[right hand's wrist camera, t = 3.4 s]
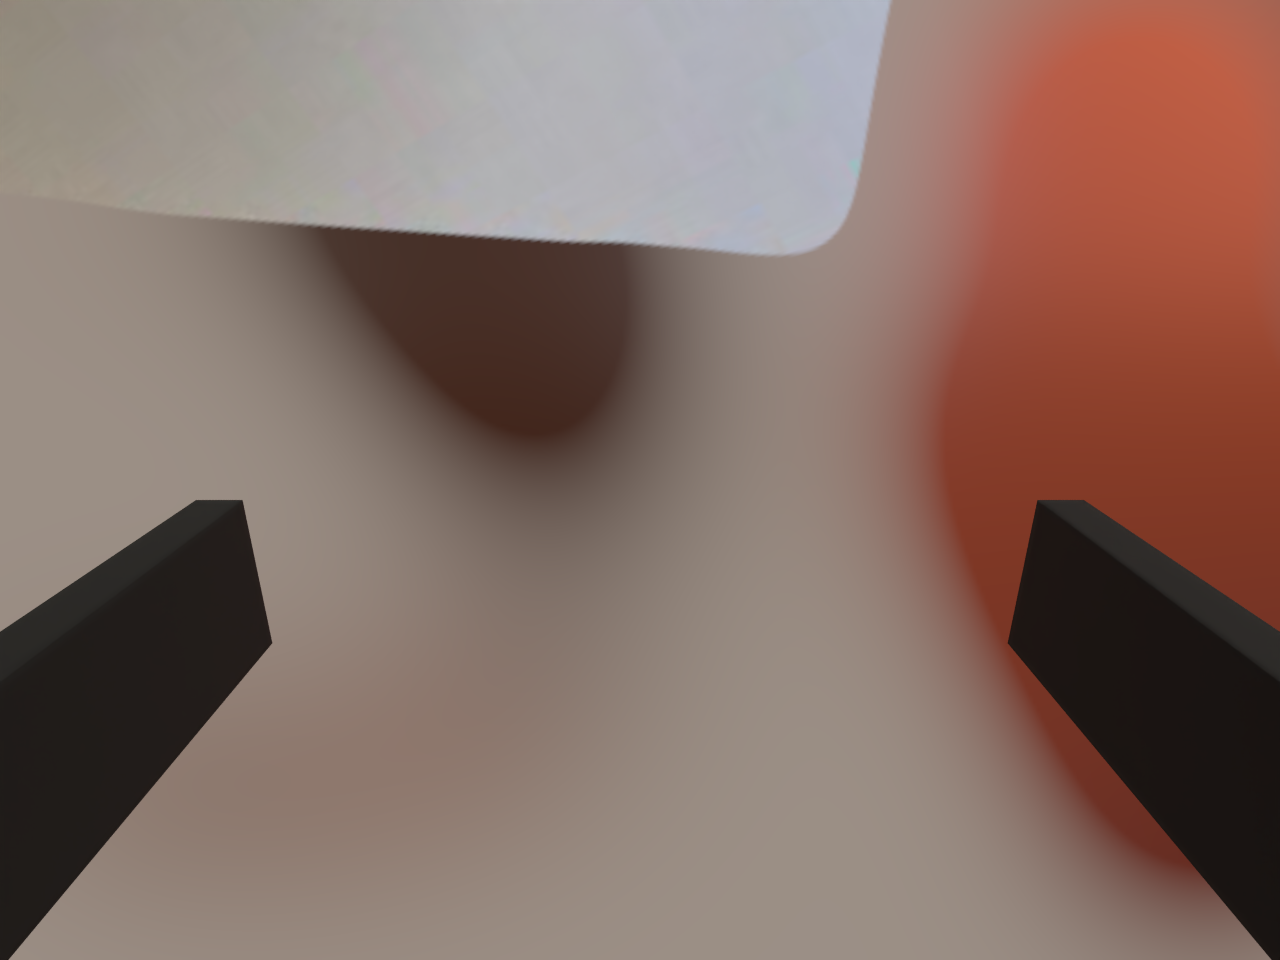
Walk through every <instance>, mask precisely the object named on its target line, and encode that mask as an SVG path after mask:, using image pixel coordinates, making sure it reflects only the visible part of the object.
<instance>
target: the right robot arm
mask: <svg viewBox="0 0 1280 960" xmlns="http://www.w3.org/2000/svg"><path fill="white" fill-rule="evenodd" d="M271 644H272V640H271V635H270V630H269V625H268V620H267V616H266V611H265V606H264V601H263V596H262V592H261V587H260V582H259V577H258V572H257V568H256V563H255V558H254V553H253V548H252V544H251V539H250V534H249V529H248V525H247V520H246V515H245V510H244V505H243V501H242V500H196V501H194V502H193V503H191V504H190V505H188V506H187V507H185V508H184V509H182V510H181V511H179V512H178V513H176V514H175V515H173V516H172V517H170V518H169V519H167V520H166V521H164V522H163V523H162V524H160V525H158V526H157V527H155V528H154V529H152V530H151V531H149V532H148V533H147V534H145V535H144V536H142V537H141V538H139V539H138V540H136V541H135V542H133V543H132V544H130V545H129V546H127V547H126V548H124V549H123V550H121V551H120V552H118V553H117V554H115V555H114V556H112V557H111V558H109V559H108V560H106V561H105V562H103V563H102V564H100V565H99V566H97V567H96V568H94V569H93V570H91V571H90V572H88V573H87V574H86V575H84V576H83V577H81V578H80V579H78V580H77V581H75V582H74V583H72V584H71V585H69V586H68V587H66V588H65V589H63V590H62V591H60V592H59V593H57V594H56V595H54V596H53V597H51V598H50V599H48V600H47V601H45V602H44V603H42V604H41V605H39V606H38V607H36V608H35V609H33V610H32V611H31V612H29V613H27V614H26V615H25V616H23V617H22V618H20V619H19V620H17V621H16V622H14V623H13V624H11V625H10V626H8V627H7V628H5V629H4V630H2V631H1V632H0V960H9V958H10V957H11V956H12V955H13V954H14V952H15V951H16V950H17V949H18V948H19V946H20V945H21V944H22V943H23V942H24V940H25V939H26V938H27V937H28V936H29V934H30V933H31V932H32V931H33V930H34V928H35V927H36V926H37V925H38V924H39V922H40V921H41V920H42V919H43V918H44V916H45V915H46V914H47V913H48V912H49V910H50V909H51V908H52V907H53V906H54V904H55V903H56V902H57V901H58V900H59V898H60V897H61V896H62V895H63V894H64V892H65V891H66V890H67V889H68V888H69V886H70V885H71V884H72V883H73V882H74V880H75V879H76V878H77V877H78V876H79V874H80V873H81V872H82V871H83V870H84V868H85V867H86V866H87V865H88V864H89V862H90V861H91V860H92V859H93V858H94V856H95V855H96V854H97V853H98V852H99V850H100V849H101V848H102V847H103V846H104V844H105V843H106V842H107V841H108V840H109V838H110V837H111V836H112V835H113V834H114V832H115V831H116V830H117V829H118V828H119V826H120V825H121V824H122V823H123V822H124V820H125V819H126V818H127V817H128V816H129V814H130V813H131V812H132V811H133V810H134V808H135V807H136V806H137V805H138V804H139V802H140V801H141V800H142V799H143V798H144V796H145V795H146V794H147V793H148V792H149V790H150V789H151V788H152V787H153V786H154V784H155V783H156V782H157V781H158V780H159V778H160V777H161V776H162V775H163V774H164V772H165V771H166V770H167V769H168V768H169V766H170V765H171V764H172V763H173V762H174V760H175V759H176V758H177V757H178V756H179V754H180V753H181V752H182V751H183V750H184V748H185V747H186V746H187V745H188V744H189V742H190V741H191V740H192V739H193V738H194V736H195V735H196V734H197V733H198V731H199V730H200V729H201V728H202V727H203V726H204V724H205V723H206V722H207V721H208V720H209V718H210V717H211V716H212V715H213V714H214V712H215V711H216V710H217V709H218V708H219V706H220V705H221V704H222V703H223V701H224V700H225V699H226V698H227V697H228V696H229V694H230V693H231V692H232V691H233V690H234V688H235V687H236V686H237V685H238V684H239V682H240V681H241V680H242V679H243V678H244V676H245V675H246V674H247V673H248V672H249V670H250V669H251V668H252V667H253V666H254V664H255V663H256V662H257V661H258V660H259V658H260V657H261V656H262V655H263V654H264V652H265V651H266V650H267V649H268V648H269V646H270V645H271ZM1008 644H1009V645H1010V646H1011V648H1012V649H1013V650H1014V651H1015V652H1016V654H1017V655H1018V656H1019V657H1020V658H1021V660H1022V661H1023V662H1024V663H1025V664H1026V666H1027V667H1028V668H1029V669H1030V670H1031V672H1032V673H1033V674H1034V675H1035V676H1036V678H1037V679H1038V680H1039V681H1040V682H1041V684H1042V685H1043V686H1044V687H1045V688H1046V690H1047V691H1048V692H1049V693H1050V694H1051V695H1052V697H1053V698H1054V699H1055V700H1056V702H1057V703H1058V704H1059V705H1060V706H1061V708H1062V709H1063V710H1064V711H1065V712H1066V714H1067V715H1068V716H1069V717H1070V718H1071V720H1072V721H1073V722H1074V723H1075V724H1076V726H1077V727H1078V728H1079V729H1080V730H1081V732H1082V733H1083V734H1084V735H1085V736H1086V738H1087V739H1088V740H1089V741H1090V742H1091V744H1092V745H1093V746H1094V747H1095V748H1096V750H1097V751H1098V752H1099V753H1100V754H1101V756H1102V757H1103V758H1104V759H1105V760H1106V762H1107V763H1108V764H1109V765H1110V766H1111V767H1112V769H1113V770H1114V771H1115V772H1116V774H1117V775H1118V776H1119V777H1120V778H1121V780H1122V781H1123V782H1124V783H1125V784H1126V786H1127V787H1128V788H1129V789H1130V790H1131V792H1132V793H1133V794H1134V795H1135V796H1136V798H1137V799H1138V800H1139V801H1140V802H1141V804H1142V805H1143V806H1144V807H1145V808H1146V810H1147V811H1148V812H1149V813H1150V814H1151V816H1152V817H1153V818H1154V819H1155V820H1156V822H1157V823H1158V824H1159V825H1160V826H1161V828H1162V829H1163V830H1164V831H1165V832H1166V833H1167V835H1168V836H1169V837H1170V838H1171V840H1172V841H1173V842H1174V843H1175V844H1176V846H1177V847H1178V848H1179V849H1180V850H1181V852H1182V853H1183V854H1184V855H1185V856H1186V858H1187V859H1188V860H1189V861H1190V862H1191V864H1192V865H1193V866H1194V867H1195V868H1196V870H1197V871H1198V872H1199V873H1200V874H1201V876H1202V877H1203V878H1204V879H1205V880H1206V882H1207V883H1208V884H1209V885H1210V886H1211V888H1212V889H1213V890H1214V891H1215V892H1216V894H1217V895H1218V896H1219V897H1220V898H1221V900H1222V901H1223V902H1224V903H1225V904H1226V906H1227V907H1228V908H1229V909H1230V910H1231V912H1232V913H1233V914H1234V915H1235V916H1236V918H1237V919H1238V920H1239V921H1240V922H1241V924H1242V925H1243V926H1244V927H1245V928H1246V930H1247V931H1248V932H1249V933H1250V934H1251V936H1252V937H1253V938H1254V939H1255V940H1256V942H1257V943H1258V944H1259V945H1260V946H1261V948H1262V949H1263V950H1264V951H1265V952H1266V954H1267V955H1268V956H1269V957H1270V958H1271V960H1280V632H1279V631H1278V630H1276V629H1275V628H1273V627H1272V626H1270V625H1269V624H1267V623H1266V622H1264V621H1263V620H1261V619H1260V618H1258V617H1257V616H1255V615H1254V614H1253V613H1251V612H1249V611H1248V610H1247V609H1245V608H1244V607H1242V606H1241V605H1239V604H1238V603H1236V602H1235V601H1233V600H1232V599H1230V598H1229V597H1227V596H1226V595H1224V594H1223V593H1221V592H1220V591H1218V590H1217V589H1215V588H1214V587H1212V586H1211V585H1209V584H1208V583H1206V582H1205V581H1203V580H1202V579H1200V578H1199V577H1197V576H1196V575H1194V574H1193V573H1192V572H1190V571H1188V570H1187V569H1186V568H1184V567H1183V566H1181V565H1180V564H1178V563H1177V562H1175V561H1174V560H1172V559H1171V558H1169V557H1168V556H1166V555H1165V554H1163V553H1162V552H1160V551H1159V550H1157V549H1156V548H1154V547H1153V546H1151V545H1150V544H1148V543H1147V542H1145V541H1144V540H1142V539H1141V538H1139V537H1138V536H1136V535H1135V534H1133V533H1132V532H1130V531H1129V530H1128V529H1126V528H1125V527H1123V526H1122V525H1120V524H1119V523H1117V522H1116V521H1114V520H1113V519H1111V518H1110V517H1108V516H1107V515H1105V514H1104V513H1102V512H1101V511H1099V510H1098V509H1096V508H1095V507H1093V506H1092V505H1090V504H1089V503H1087V502H1086V501H1084V500H1038V501H1037V505H1036V510H1035V515H1034V520H1033V524H1032V529H1031V534H1030V539H1029V544H1028V548H1027V553H1026V558H1025V563H1024V568H1023V573H1022V577H1021V582H1020V587H1019V592H1018V596H1017V601H1016V606H1015V611H1014V616H1013V620H1012V625H1011V630H1010V635H1009V640H1008Z"/></svg>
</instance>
